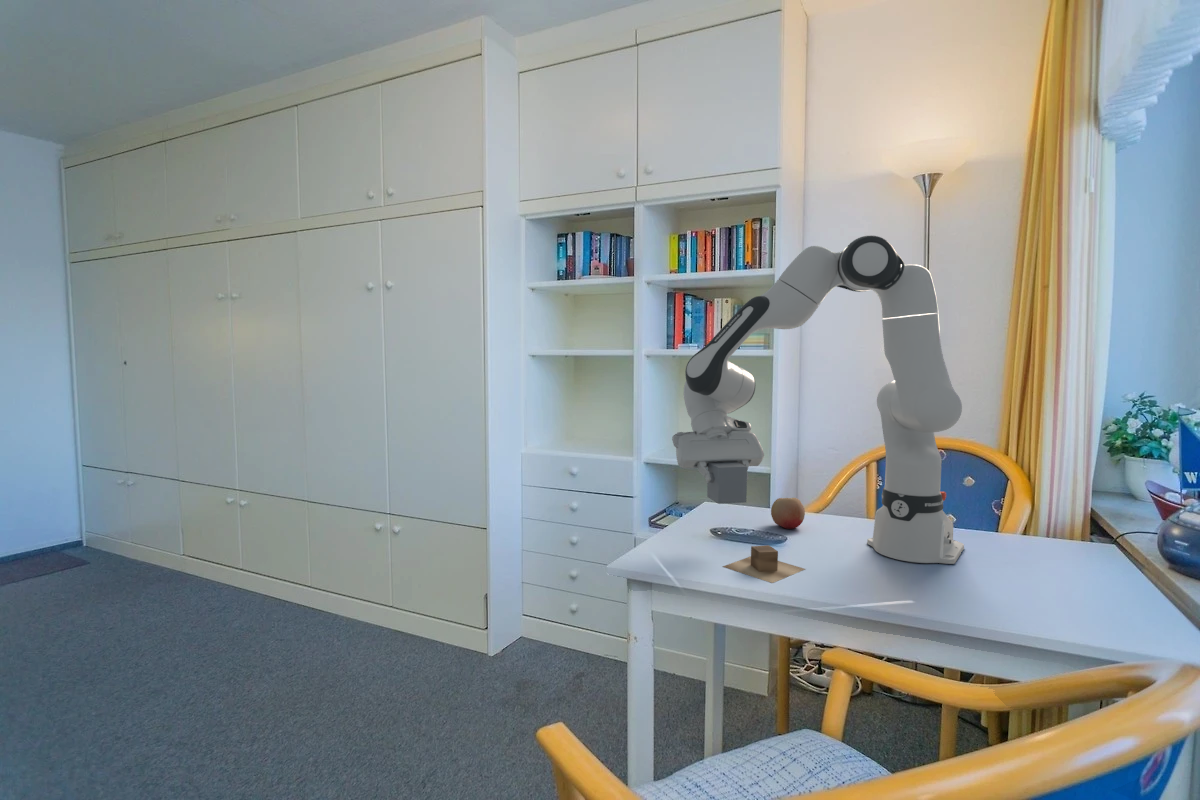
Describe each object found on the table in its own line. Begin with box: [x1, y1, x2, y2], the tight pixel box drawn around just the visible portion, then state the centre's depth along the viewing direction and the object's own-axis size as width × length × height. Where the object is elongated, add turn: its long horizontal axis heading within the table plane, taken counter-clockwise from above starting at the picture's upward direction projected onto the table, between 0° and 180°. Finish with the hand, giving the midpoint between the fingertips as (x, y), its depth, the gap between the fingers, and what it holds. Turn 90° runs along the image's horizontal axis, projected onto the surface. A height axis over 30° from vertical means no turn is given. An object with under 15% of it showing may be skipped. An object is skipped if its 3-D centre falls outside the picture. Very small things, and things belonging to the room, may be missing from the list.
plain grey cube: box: [706, 461, 748, 505], centre depth 140 cm, size 7×7×8 cm
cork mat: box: [722, 555, 806, 584], centre depth 129 cm, size 12×12×1 cm
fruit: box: [770, 497, 806, 530], centre depth 159 cm, size 8×8×8 cm
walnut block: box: [750, 544, 779, 572], centre depth 128 cm, size 4×4×4 cm
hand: (727, 480), depth 139 cm, fingers closed on plain grey cube, 7 cm apart
